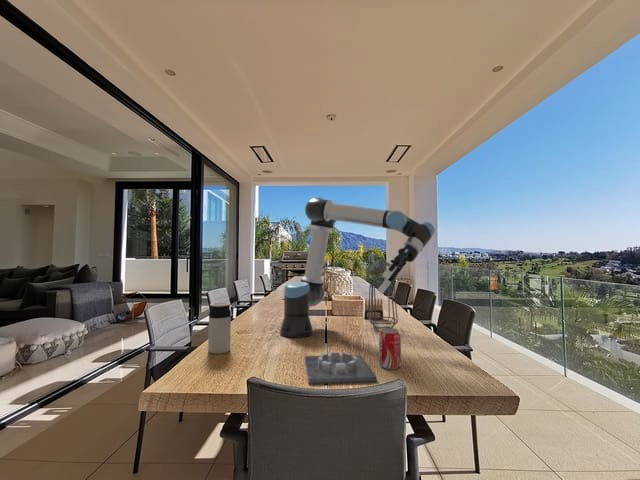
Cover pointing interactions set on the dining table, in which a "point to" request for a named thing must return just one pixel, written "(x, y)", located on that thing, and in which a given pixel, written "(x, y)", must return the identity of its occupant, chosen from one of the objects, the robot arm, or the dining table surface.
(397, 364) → the soda can
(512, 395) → the dining table surface
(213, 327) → the travel mug
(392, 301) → the geometric lantern
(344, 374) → the square lugged base plate
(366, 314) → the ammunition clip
